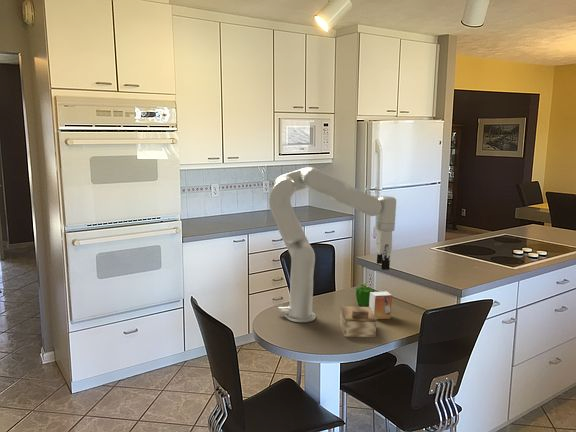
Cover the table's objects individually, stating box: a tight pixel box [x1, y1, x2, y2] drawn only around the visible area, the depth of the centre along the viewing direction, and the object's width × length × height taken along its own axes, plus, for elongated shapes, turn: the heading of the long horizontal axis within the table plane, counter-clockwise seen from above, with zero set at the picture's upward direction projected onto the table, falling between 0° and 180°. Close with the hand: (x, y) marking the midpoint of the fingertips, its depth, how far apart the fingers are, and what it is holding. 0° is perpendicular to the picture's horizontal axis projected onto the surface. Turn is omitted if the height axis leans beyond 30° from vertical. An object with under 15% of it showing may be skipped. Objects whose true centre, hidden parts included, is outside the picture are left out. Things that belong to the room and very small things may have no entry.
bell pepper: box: [355, 282, 376, 307], centre depth 220 cm, size 8×8×10 cm
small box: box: [368, 291, 393, 320], centre depth 205 cm, size 8×6×10 cm
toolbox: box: [339, 310, 377, 338], centre depth 190 cm, size 12×14×6 cm
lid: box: [340, 305, 378, 322], centre depth 190 cm, size 12×14×3 cm
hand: (382, 266), depth 202 cm, fingers open, 9 cm apart
